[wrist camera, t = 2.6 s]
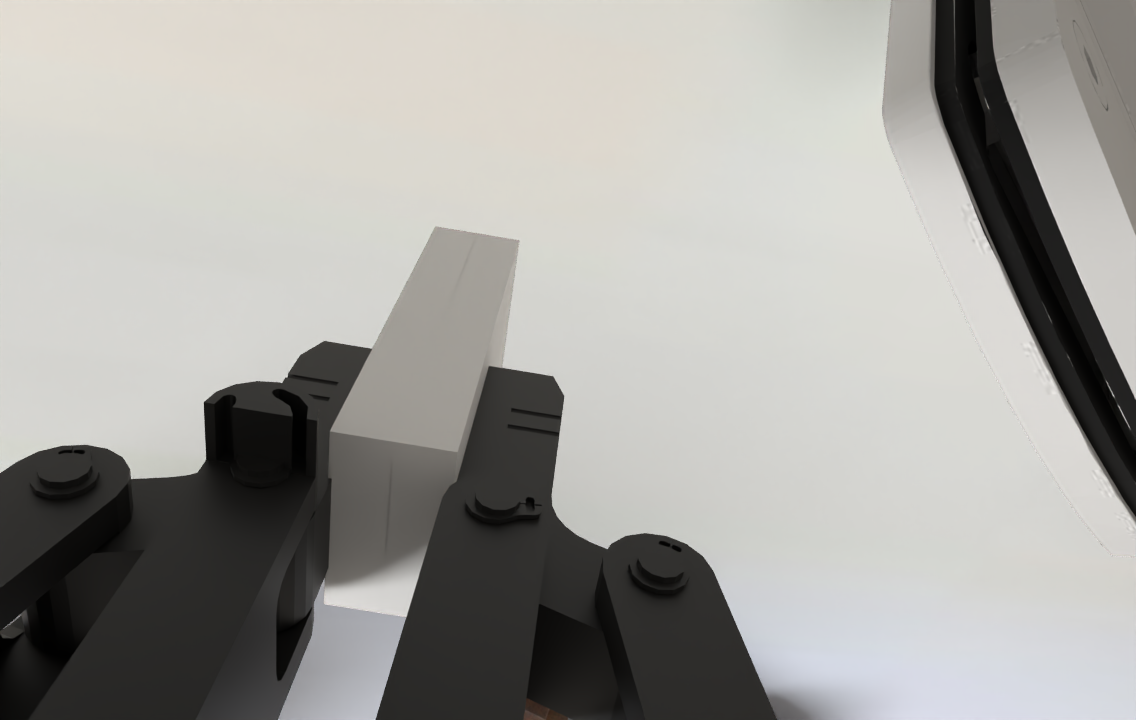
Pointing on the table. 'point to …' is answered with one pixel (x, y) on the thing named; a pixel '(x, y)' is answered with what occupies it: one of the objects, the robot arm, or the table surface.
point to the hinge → (1034, 216)
